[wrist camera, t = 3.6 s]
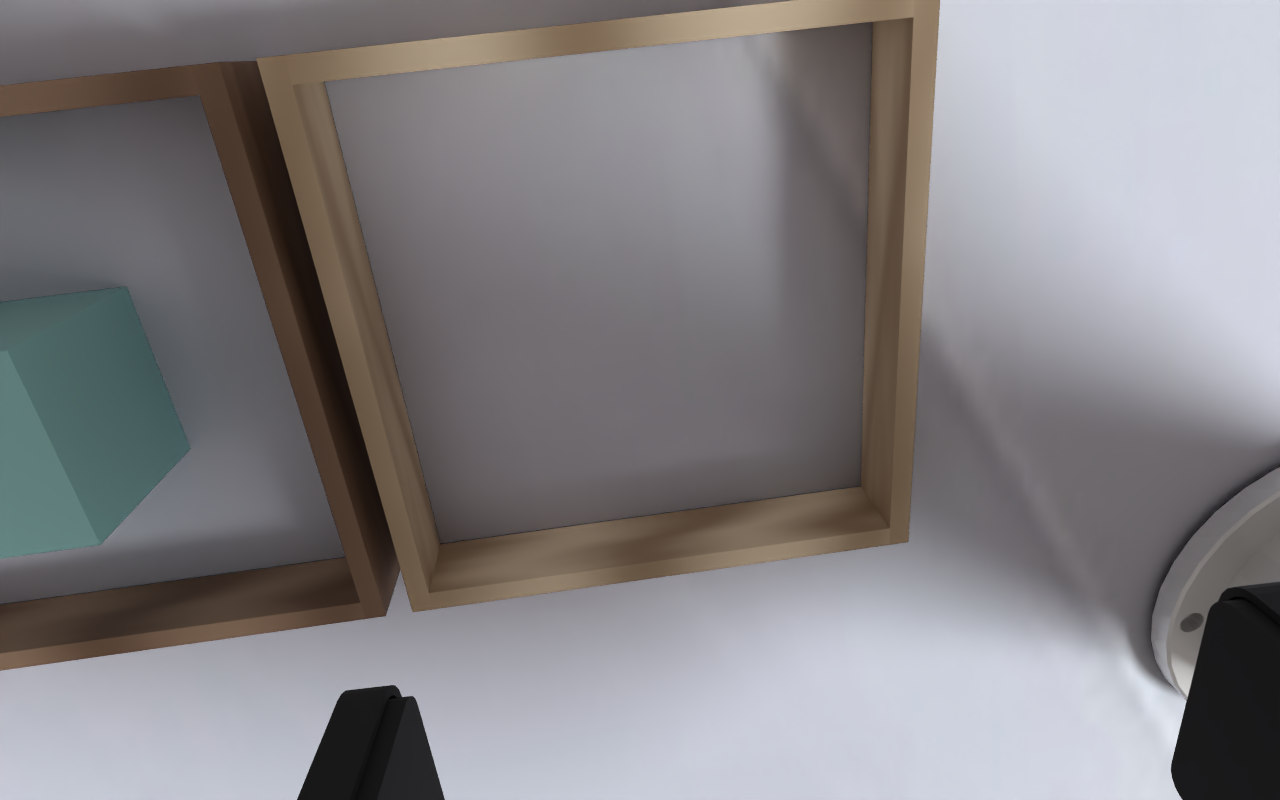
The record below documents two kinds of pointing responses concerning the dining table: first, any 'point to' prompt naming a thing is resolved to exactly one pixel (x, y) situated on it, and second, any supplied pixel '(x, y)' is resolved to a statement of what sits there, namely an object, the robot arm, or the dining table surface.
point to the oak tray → (664, 541)
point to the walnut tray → (315, 378)
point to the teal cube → (78, 420)
